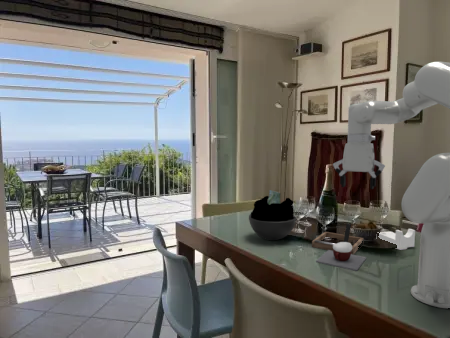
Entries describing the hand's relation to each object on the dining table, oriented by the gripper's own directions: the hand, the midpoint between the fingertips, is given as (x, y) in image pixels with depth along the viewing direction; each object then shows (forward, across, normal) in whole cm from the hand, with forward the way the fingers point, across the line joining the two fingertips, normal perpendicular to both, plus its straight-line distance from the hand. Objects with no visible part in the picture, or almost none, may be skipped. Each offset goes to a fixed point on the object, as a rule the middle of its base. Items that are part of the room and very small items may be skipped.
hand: (357, 187), depth 122 cm
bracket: (+27, -10, -28) cm, 40 cm away
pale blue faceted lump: (+26, +52, -37) cm, 69 cm away
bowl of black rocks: (+26, +36, -6) cm, 45 cm away
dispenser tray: (+26, +9, -13) cm, 31 cm away
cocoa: (+26, +4, +3) cm, 26 cm away
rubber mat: (+26, +4, +3) cm, 27 cm away
